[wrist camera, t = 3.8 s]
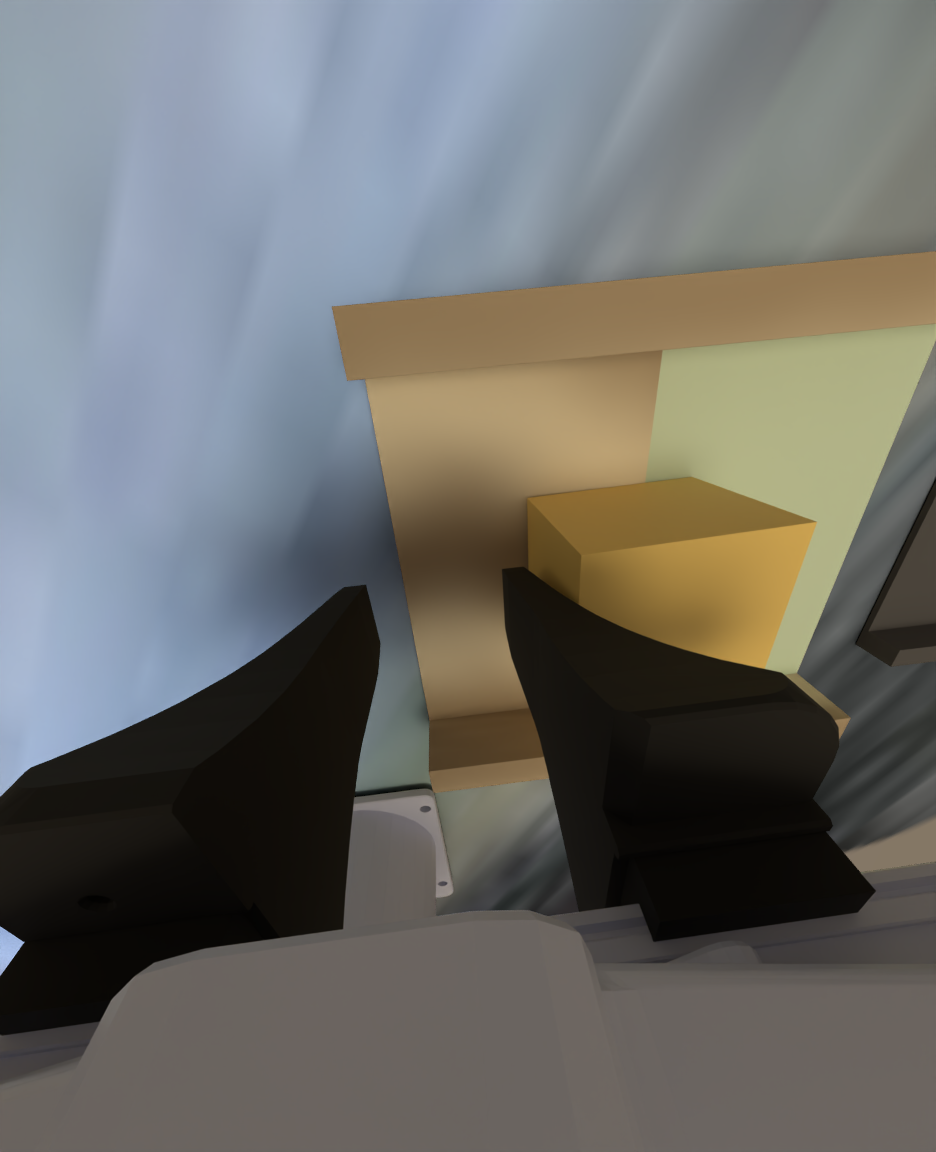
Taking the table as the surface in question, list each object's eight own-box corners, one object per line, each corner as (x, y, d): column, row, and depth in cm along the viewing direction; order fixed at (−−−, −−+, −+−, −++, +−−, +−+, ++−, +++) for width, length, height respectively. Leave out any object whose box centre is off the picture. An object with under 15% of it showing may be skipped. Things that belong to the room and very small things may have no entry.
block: (666, 616, 14) (754, 699, 10) (529, 637, 13) (572, 731, 10) (692, 476, 11) (817, 521, 8) (527, 497, 11) (581, 555, 8)
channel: (774, 683, 17) (838, 740, 14) (433, 725, 16) (433, 793, 14) (934, 271, 10) (1113, 235, 7) (360, 324, 10) (331, 306, 7)
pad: (782, 661, 16) (796, 673, 16) (608, 683, 16) (615, 695, 15) (913, 325, 11) (942, 322, 10) (647, 351, 10) (660, 350, 10)
